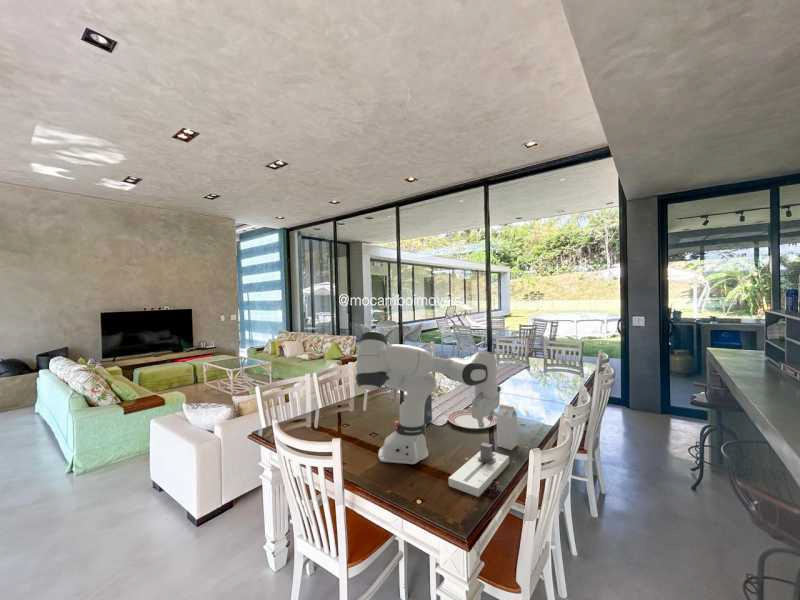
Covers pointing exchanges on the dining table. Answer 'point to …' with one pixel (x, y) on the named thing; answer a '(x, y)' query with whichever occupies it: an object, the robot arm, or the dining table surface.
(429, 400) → the bottle
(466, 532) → the dining table surface
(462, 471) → the console board
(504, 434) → the milk carton
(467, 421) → the dinner plate
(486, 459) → the fader tab
